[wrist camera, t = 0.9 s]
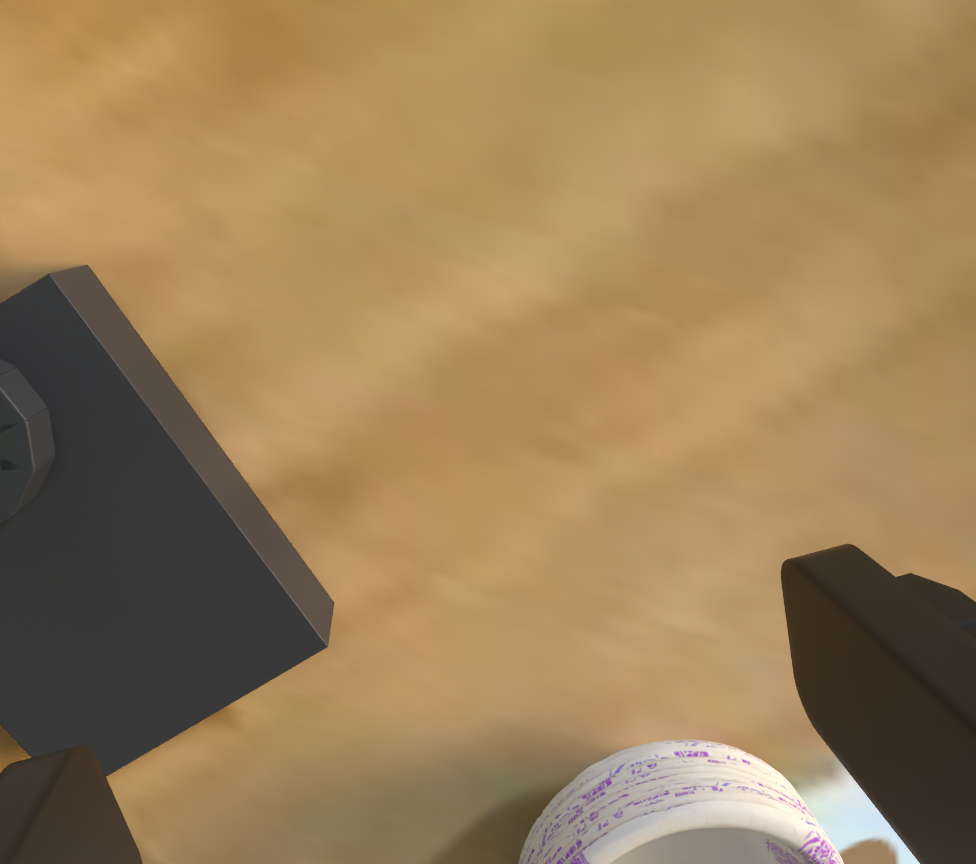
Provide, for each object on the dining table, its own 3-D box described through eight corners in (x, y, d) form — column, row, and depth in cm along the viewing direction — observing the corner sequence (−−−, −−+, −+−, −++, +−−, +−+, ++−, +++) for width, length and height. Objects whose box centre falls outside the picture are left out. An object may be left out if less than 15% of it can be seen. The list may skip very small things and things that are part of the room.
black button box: (-186, 419, 34) (-301, 464, 29) (80, 254, 34) (16, 266, 28) (100, 740, 40) (51, 832, 34) (334, 602, 39) (324, 673, 33)
